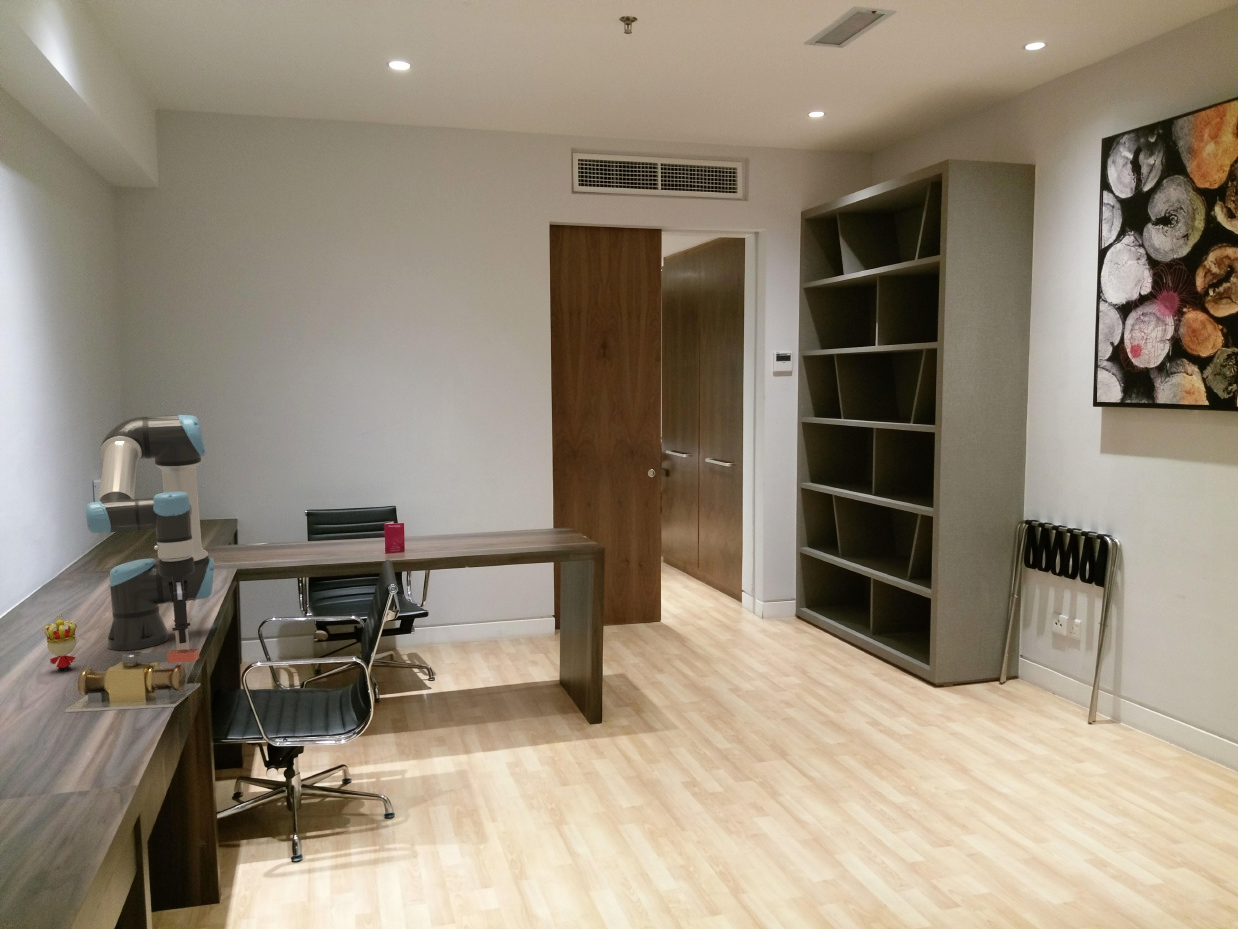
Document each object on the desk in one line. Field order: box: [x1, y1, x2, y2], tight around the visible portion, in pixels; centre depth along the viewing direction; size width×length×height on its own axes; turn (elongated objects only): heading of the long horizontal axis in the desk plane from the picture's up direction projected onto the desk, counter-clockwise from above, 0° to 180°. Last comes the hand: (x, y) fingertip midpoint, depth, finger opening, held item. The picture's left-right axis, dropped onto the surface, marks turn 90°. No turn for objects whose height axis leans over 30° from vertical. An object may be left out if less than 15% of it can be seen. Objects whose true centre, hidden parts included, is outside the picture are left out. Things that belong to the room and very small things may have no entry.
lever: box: [121, 648, 200, 667], centre depth 205 cm, size 16×4×2 cm, turn 95°
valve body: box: [64, 661, 201, 713], centre depth 205 cm, size 24×14×8 cm, turn 94°
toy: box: [43, 613, 78, 673], centre depth 226 cm, size 7×7×15 cm
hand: (183, 655), depth 210 cm, fingers closed
